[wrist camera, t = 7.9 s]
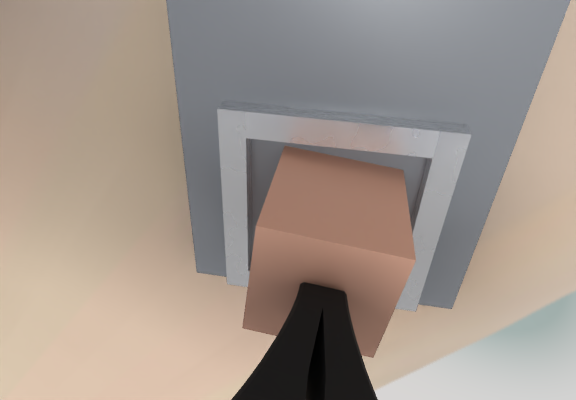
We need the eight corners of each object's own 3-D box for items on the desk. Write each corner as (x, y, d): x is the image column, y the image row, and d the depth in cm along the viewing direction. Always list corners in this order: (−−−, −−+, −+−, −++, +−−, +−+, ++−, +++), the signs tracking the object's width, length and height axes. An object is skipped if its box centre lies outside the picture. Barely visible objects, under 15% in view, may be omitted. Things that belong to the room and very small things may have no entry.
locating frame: (414, 297, 19) (415, 311, 18) (231, 272, 20) (227, 284, 19) (466, 124, 14) (471, 134, 14) (223, 100, 15) (217, 108, 15)
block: (371, 258, 18) (373, 357, 14) (270, 236, 18) (242, 328, 14) (403, 170, 16) (416, 260, 12) (284, 145, 16) (256, 226, 12)
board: (447, 289, 20) (451, 308, 19) (204, 256, 21) (196, 272, 20) (691, -384, 9) (732, -422, 8) (145, -371, 10) (120, -403, 9)
